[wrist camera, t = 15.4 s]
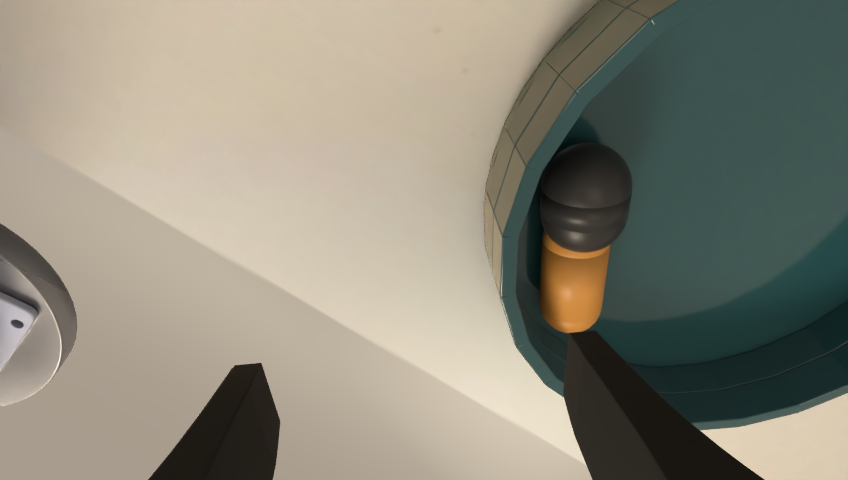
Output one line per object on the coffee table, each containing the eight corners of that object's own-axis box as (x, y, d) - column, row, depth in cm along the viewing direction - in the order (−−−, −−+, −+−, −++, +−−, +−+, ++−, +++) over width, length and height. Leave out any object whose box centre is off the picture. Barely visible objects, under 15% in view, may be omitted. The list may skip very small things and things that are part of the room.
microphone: (527, 137, 20) (570, 172, 17) (605, 123, 20) (658, 154, 18) (521, 315, 24) (554, 364, 22) (585, 299, 25) (625, 345, 22)
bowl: (658, 418, 30) (692, 483, 27) (383, 220, 22) (383, 277, 19) (1048, 170, 23) (1163, 217, 19) (849, -261, 15) (986, -309, 11)
